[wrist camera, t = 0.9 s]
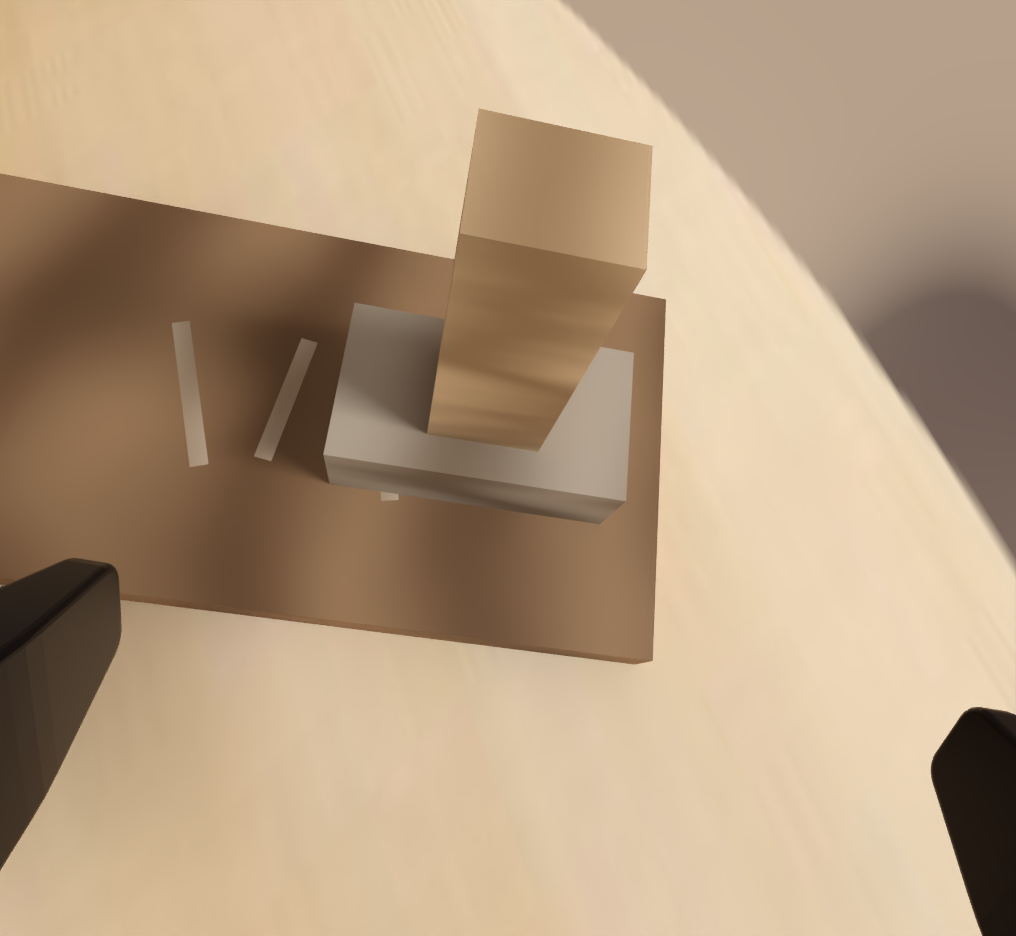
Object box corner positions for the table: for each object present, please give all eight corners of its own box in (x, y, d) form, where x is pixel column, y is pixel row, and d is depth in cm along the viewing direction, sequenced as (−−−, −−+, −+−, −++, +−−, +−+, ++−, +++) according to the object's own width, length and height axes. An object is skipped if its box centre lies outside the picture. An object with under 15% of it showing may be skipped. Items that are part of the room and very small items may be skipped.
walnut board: (650, 321, 26) (665, 299, 25) (635, 664, 22) (652, 660, 21) (-1, 201, 24) (-25, 168, 22) (-153, 564, 20) (-195, 552, 18)
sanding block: (608, 389, 23) (788, 130, 13) (599, 524, 22) (795, 352, 12) (357, 345, 22) (337, 30, 12) (329, 484, 21) (280, 257, 11)
